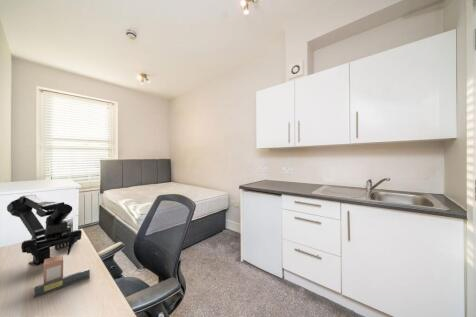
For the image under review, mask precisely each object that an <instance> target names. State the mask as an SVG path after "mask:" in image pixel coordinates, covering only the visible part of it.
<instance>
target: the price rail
mask: <svg viewBox="0 0 476 317" xmlns="http://www.w3.org/2000/svg"><path fill="white" fill-rule="evenodd" d="M90 271H91V270H90V268H87V269H84V270H81V271H78V272H75V273H73V274H69V275H66V276H63V278H60V279H57V280H54V281H51V282H48V283H45V284H44V283H43V284H39V285H36V286H34V289H33V298H34V299H35V298H38V297H40V296H43V295H46V294H49V293H51V292H54V291H57V290H59V289H63V288H65V287H67V286H71V285H73V284H76V283H80V282H81V281H85V280H87V279H90V278H91V277H90V276H91V275H90V274H91V272H90Z"/></svg>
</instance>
